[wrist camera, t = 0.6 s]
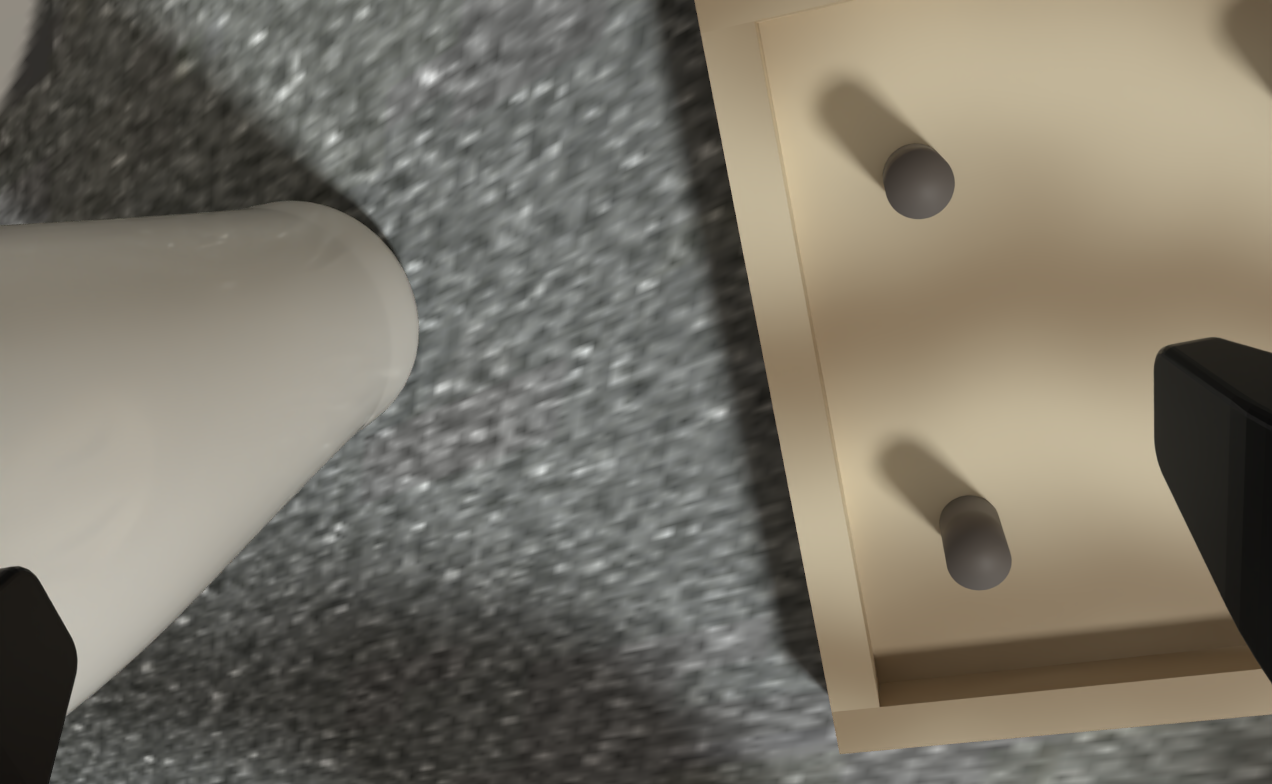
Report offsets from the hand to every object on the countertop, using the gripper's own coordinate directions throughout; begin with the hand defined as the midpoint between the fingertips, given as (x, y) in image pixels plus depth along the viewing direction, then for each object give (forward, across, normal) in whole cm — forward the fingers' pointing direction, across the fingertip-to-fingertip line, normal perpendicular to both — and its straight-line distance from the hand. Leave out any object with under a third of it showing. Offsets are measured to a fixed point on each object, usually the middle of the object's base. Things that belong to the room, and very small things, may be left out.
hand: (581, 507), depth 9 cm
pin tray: (+14, -9, +7) cm, 18 cm away
